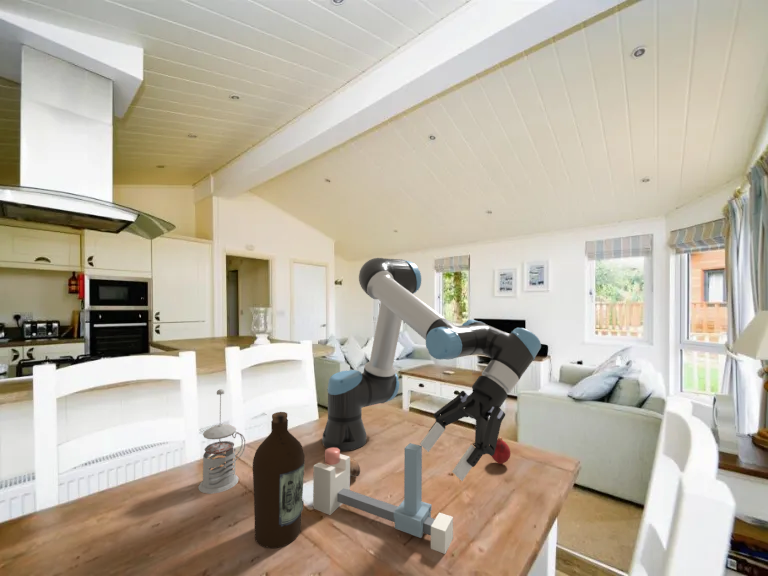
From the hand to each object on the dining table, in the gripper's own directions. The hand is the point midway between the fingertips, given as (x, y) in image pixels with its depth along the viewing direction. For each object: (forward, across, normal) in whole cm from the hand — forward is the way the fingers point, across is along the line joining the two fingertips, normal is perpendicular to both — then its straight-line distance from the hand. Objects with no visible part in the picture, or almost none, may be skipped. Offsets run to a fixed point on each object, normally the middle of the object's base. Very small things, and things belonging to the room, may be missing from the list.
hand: (439, 461), depth 74 cm
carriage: (+13, +1, -5) cm, 14 cm away
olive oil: (+33, +12, +13) cm, 38 cm away
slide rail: (+18, +7, -3) cm, 19 cm away
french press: (+42, +38, +22) cm, 60 cm away
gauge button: (+17, +18, +11) cm, 27 cm away
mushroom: (+20, +28, -1) cm, 34 cm away
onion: (-12, +18, -33) cm, 40 cm away
